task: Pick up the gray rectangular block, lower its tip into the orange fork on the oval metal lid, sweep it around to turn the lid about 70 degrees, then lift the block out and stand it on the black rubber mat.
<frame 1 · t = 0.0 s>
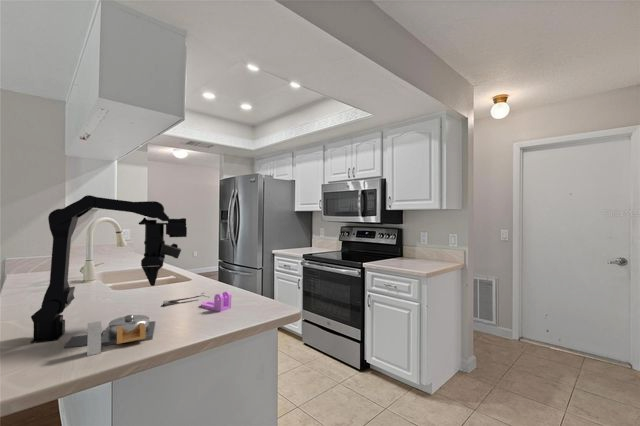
hand: (153, 282, 107), 15 cm above the counter, tool pointing down, fingers open, 9 cm apart
oval metal lid: (129, 325, 97), point 4 cm above the counter, hinge at 0.0°
hacksaw: (187, 300, 139), on the counter
base plate: (129, 334, 99), on the counter
key mat: (84, 341, 93), on the counter
bracket: (214, 308, 128), on the counter
gray rectangular block: (94, 352, 86), on the counter
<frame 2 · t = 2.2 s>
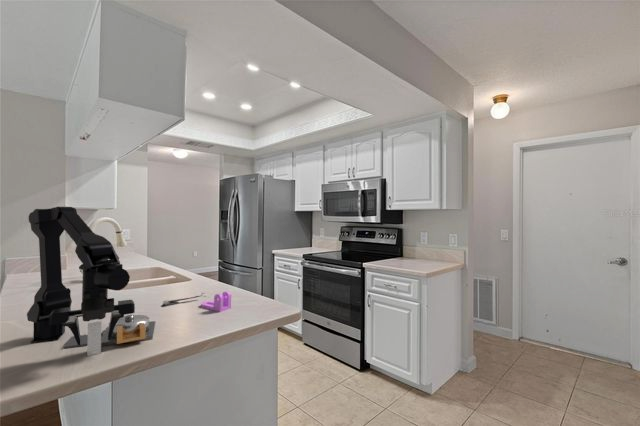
hand: (94, 342, 86), 3 cm above the counter, tool pointing down, fingers open, 6 cm apart
nothing on the counter moved.
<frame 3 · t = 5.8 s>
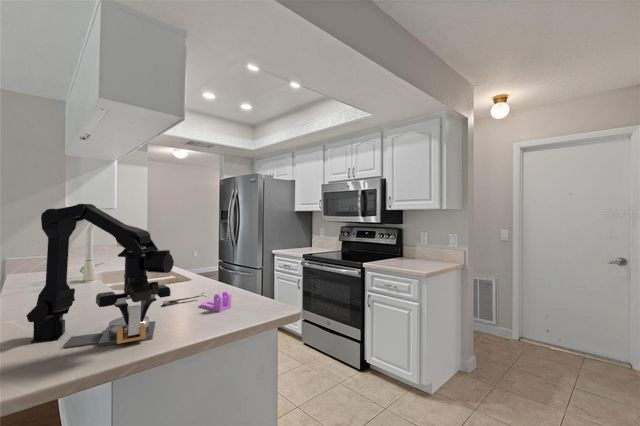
hand: (134, 323, 94), 5 cm above the counter, tool pointing down, fingers open, 3 cm apart
oval metal lid: (129, 325, 97), point 4 cm above the counter, hinge at 0.2°, touching gray rectangular block
gray rectangular block: (133, 333, 93), point 3 cm above the counter, touching oval metal lid, gripper
everything else where it was.
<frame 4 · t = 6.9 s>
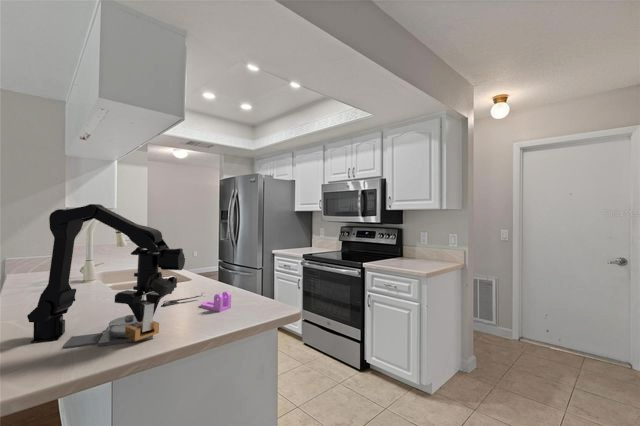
hand: (145, 319, 97), 6 cm above the counter, tool pointing down, fingers open, 4 cm apart
oval metal lid: (133, 324, 98), point 4 cm above the counter, hinge at 24.8°, touching gray rectangular block
gray rectangular block: (144, 329, 96), point 3 cm above the counter, touching oval metal lid, gripper
everything else where it was.
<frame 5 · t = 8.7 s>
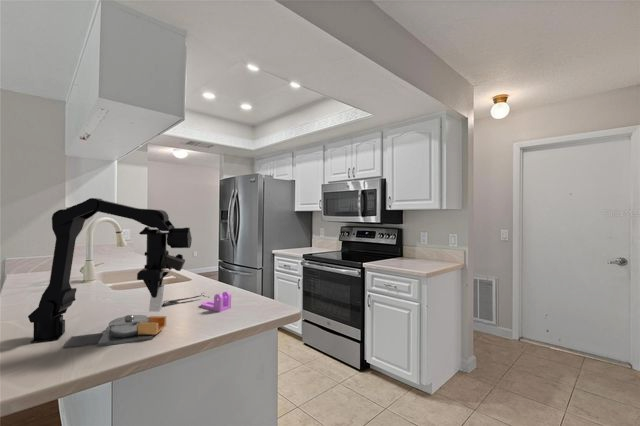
hand: (155, 296, 101), 12 cm above the counter, tool pointing down, fingers closed on gray rectangular block, 3 cm apart
oval metal lid: (136, 323, 99), point 4 cm above the counter, hinge at 58.6°
gray rectangular block: (155, 310, 101), point 7 cm above the counter, tilted 6°, touching gripper
everything else where it was.
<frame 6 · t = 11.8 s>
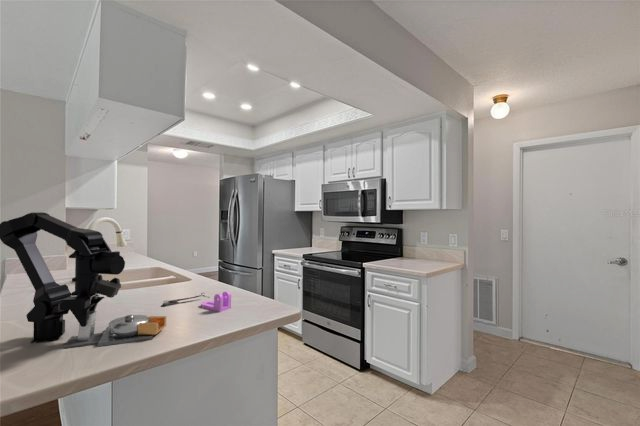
hand: (86, 324, 93), 5 cm above the counter, tool pointing down, fingers closed on gray rectangular block, 3 cm apart
gray rectangular block: (85, 338, 93), point 1 cm above the counter, tilted 5°, touching gripper, key mat
everything else where it was.
when the fingers open (5 cm above the counter, at t = 11.9 s): gray rectangular block stays where it is, resting on key mat.
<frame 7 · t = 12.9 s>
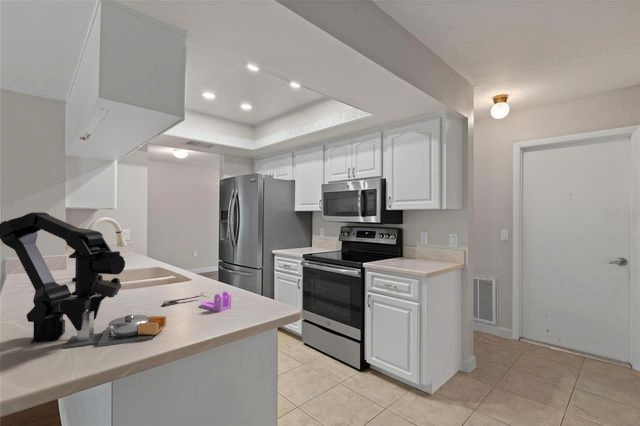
hand: (86, 324, 93), 5 cm above the counter, tool pointing down, fingers open, 9 cm apart
gray rectangular block: (85, 339, 93), resting on key mat
everything else where it was.
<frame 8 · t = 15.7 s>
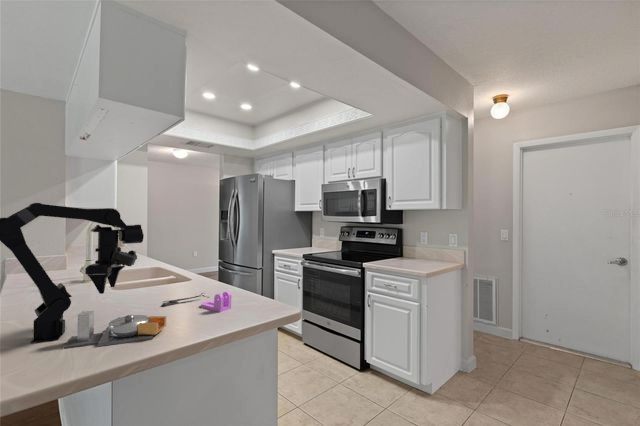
hand: (107, 290, 106), 12 cm above the counter, tool pointing down, fingers open, 9 cm apart
nothing on the counter moved.
at the end: oval metal lid at +59° (first picture: +0°); gray rectangular block inside the target area (0.4 cm from its centre), point 0.5 cm above the counter; gray rectangular block tilted 0° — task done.
